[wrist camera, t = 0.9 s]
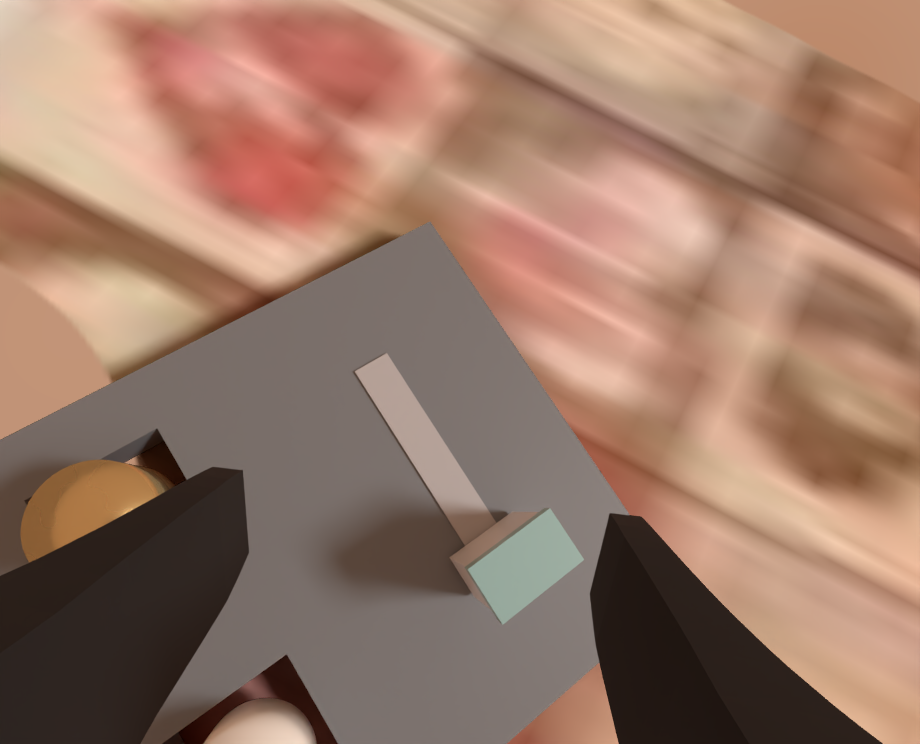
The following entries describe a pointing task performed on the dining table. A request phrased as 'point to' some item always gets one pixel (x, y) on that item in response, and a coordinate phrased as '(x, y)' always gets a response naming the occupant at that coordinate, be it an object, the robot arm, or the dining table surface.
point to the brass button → (85, 502)
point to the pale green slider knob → (516, 561)
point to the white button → (263, 724)
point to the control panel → (359, 499)
